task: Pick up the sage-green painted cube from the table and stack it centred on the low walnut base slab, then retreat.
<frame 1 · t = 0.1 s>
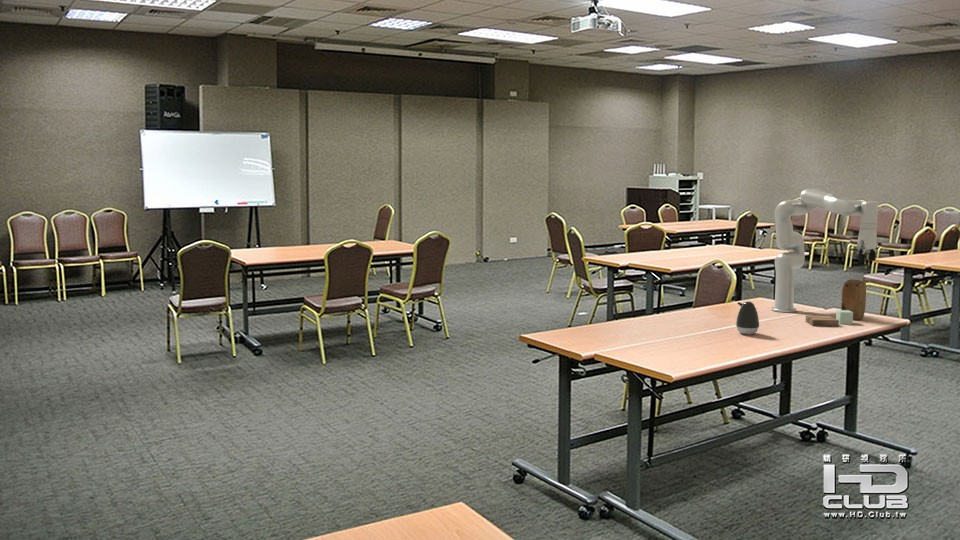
hand: (866, 261, 391), 31 cm above the table, tool pointing down, fingers open, 9 cm apart
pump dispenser: (746, 334, 371), on the table
block: (852, 319, 407), on the table
base: (821, 324, 394), on the table
cube: (844, 323, 396), on the table
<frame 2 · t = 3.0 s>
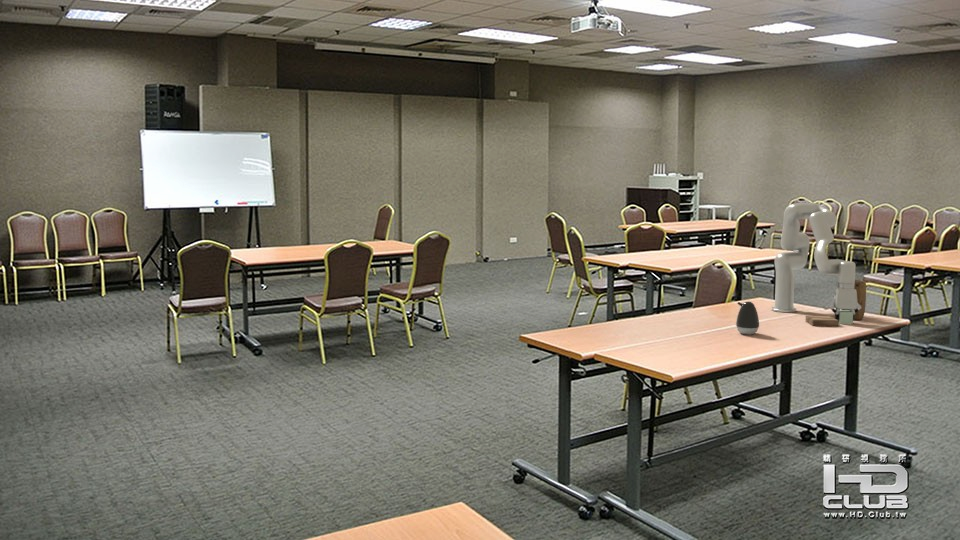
hand: (844, 321, 396), 1 cm above the table, tool pointing down, fingers closed on cube, 6 cm apart
cube: (844, 323, 396), on the table, touching gripper
everything else where it was.
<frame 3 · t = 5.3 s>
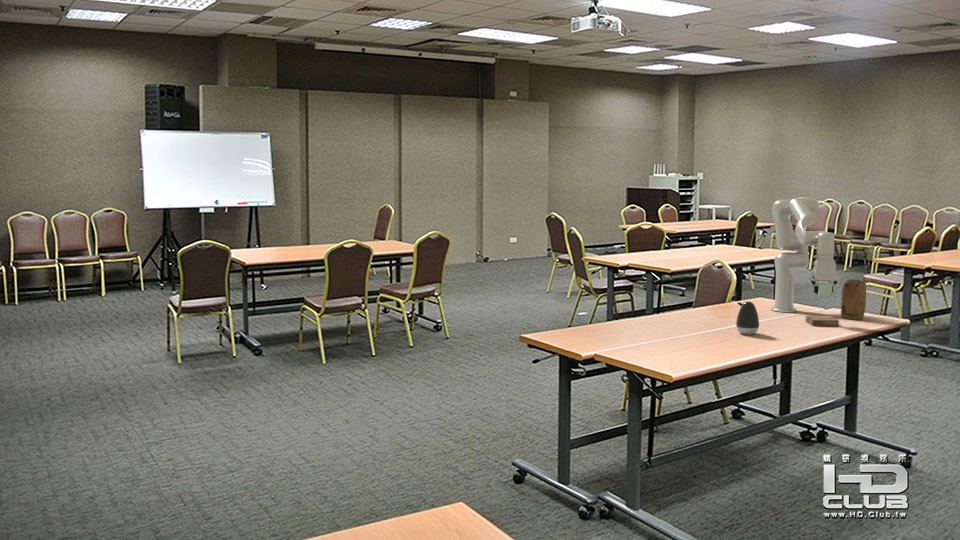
hand: (823, 293, 392), 15 cm above the table, tool pointing down, fingers closed on cube, 6 cm apart
cube: (823, 295, 392), point 15 cm above the table, touching gripper
everything else where it was.
when the fingers open (4 cm above the table, at t = 7.6 s): cube stays where it is, resting on base.
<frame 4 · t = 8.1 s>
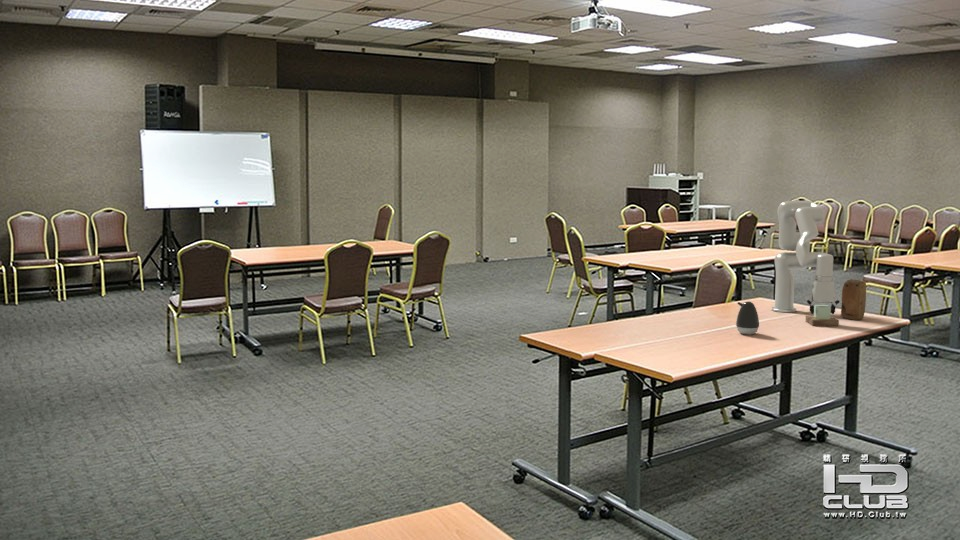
hand: (822, 313, 393), 5 cm above the table, tool pointing down, fingers open, 9 cm apart
cube: (821, 317, 393), point 3 cm above the table, touching base
everything else where it was.
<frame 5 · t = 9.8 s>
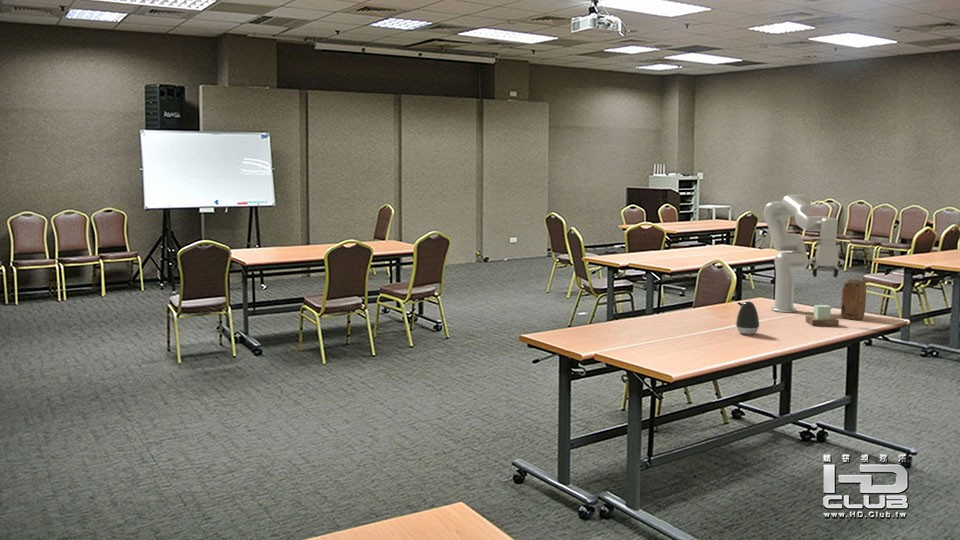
hand: (824, 276, 398), 23 cm above the table, tool pointing down, fingers open, 9 cm apart
nothing on the table moved.
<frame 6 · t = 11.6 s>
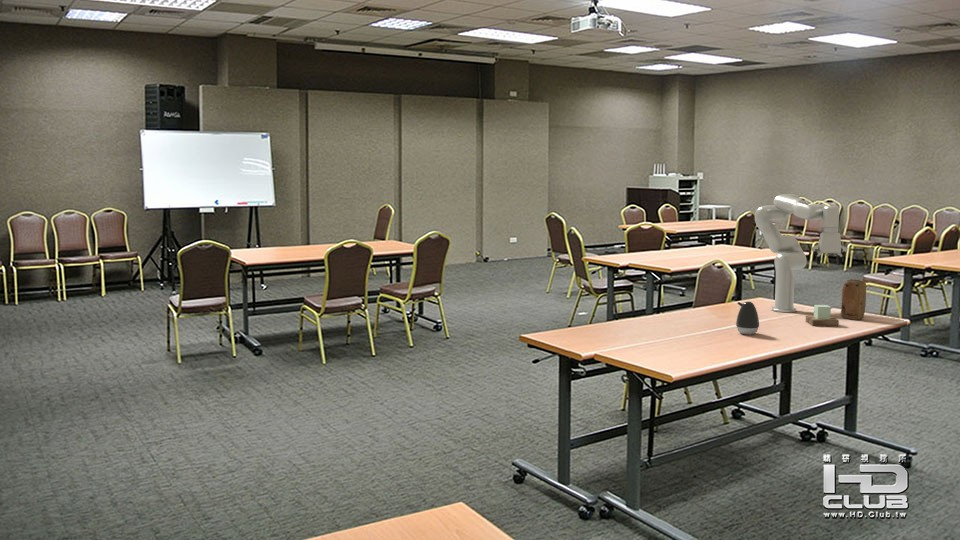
hand: (828, 264, 402), 28 cm above the table, tool pointing down, fingers open, 9 cm apart
nothing on the table moved.
at the end: cube inside the target area on the base (0.0 cm from its centre), point 3.1 cm above the base's base; cube tilted 0°; the gripper is holding nothing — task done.
